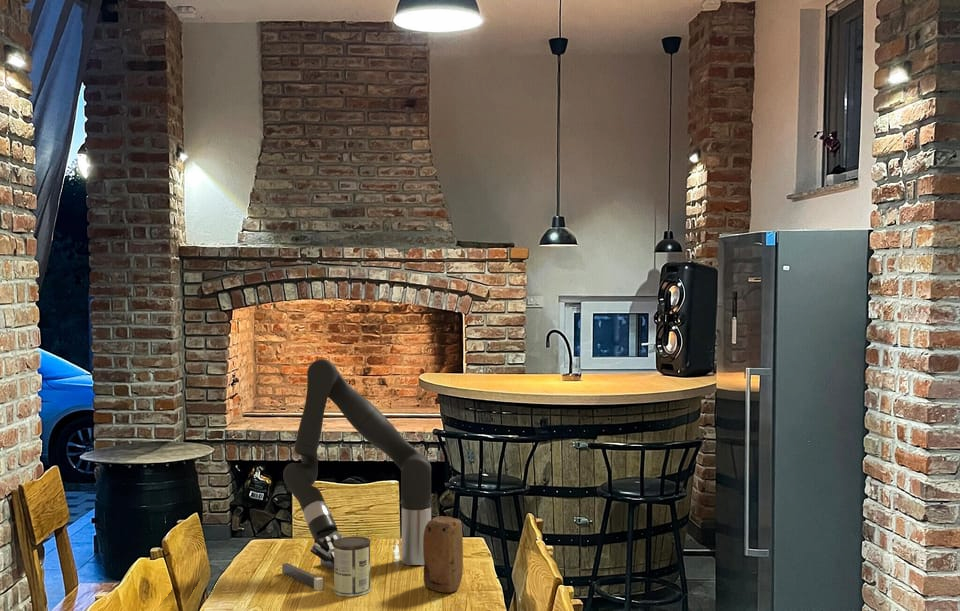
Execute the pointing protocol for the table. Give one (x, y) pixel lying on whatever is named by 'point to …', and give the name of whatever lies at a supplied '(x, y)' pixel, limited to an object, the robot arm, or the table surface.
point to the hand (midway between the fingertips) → (341, 571)
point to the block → (443, 554)
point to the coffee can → (352, 566)
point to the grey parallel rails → (306, 575)
